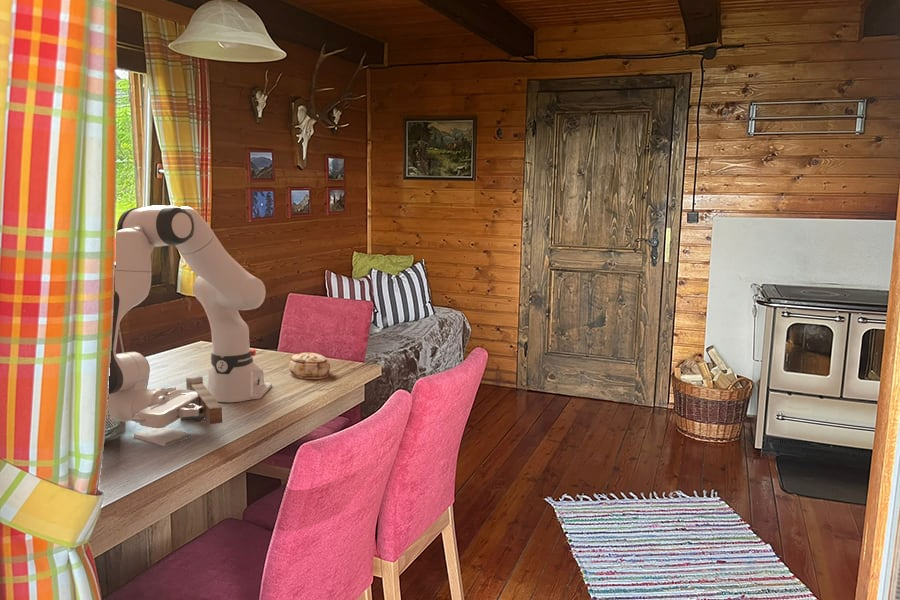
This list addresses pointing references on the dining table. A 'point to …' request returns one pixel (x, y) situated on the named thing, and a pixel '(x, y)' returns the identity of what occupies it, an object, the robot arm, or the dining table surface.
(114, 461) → the dining table surface
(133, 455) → the dining table surface
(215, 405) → the walnut swing arm
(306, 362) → the trinket box
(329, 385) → the dining table surface
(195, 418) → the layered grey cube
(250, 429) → the dining table surface
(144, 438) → the external hard drive
